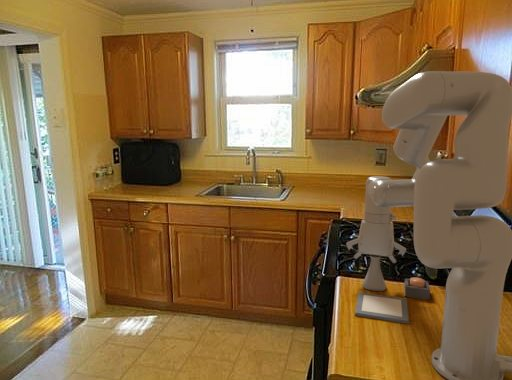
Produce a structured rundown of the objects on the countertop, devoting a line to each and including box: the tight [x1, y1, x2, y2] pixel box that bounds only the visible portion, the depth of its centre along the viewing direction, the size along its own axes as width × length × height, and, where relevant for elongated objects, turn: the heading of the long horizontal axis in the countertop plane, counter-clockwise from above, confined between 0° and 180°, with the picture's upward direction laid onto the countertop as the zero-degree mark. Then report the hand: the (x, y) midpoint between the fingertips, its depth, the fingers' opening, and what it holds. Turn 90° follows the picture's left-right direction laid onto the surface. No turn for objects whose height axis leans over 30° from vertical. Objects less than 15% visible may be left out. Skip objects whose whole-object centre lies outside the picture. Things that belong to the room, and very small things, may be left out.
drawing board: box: [354, 292, 410, 325], centre depth 101 cm, size 13×13×1 cm
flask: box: [361, 254, 387, 292], centre depth 115 cm, size 7×7×10 cm
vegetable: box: [424, 265, 438, 280], centre depth 120 cm, size 4×4×20 cm
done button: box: [409, 277, 426, 288], centre depth 110 cm, size 4×4×3 cm
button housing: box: [403, 278, 431, 300], centre depth 110 cm, size 6×6×3 cm
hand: (374, 271), depth 115 cm, fingers open, 9 cm apart
